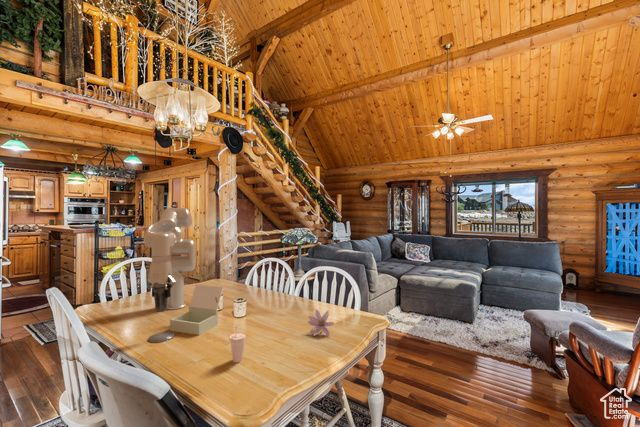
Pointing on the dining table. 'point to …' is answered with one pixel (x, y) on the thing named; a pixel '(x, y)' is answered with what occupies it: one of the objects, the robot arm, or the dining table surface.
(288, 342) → the dining table surface
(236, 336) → the smoothie
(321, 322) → the water lily
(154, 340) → the coaster
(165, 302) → the beverage cup
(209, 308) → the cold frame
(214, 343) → the dining table surface
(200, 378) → the dining table surface
